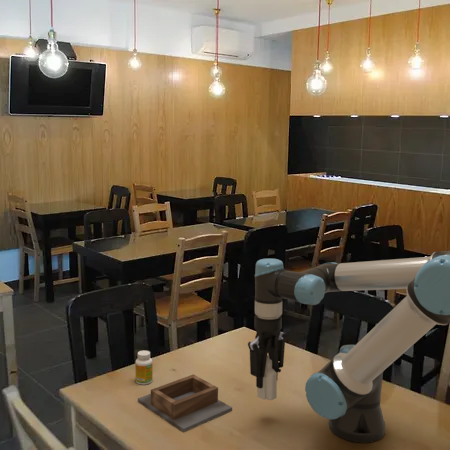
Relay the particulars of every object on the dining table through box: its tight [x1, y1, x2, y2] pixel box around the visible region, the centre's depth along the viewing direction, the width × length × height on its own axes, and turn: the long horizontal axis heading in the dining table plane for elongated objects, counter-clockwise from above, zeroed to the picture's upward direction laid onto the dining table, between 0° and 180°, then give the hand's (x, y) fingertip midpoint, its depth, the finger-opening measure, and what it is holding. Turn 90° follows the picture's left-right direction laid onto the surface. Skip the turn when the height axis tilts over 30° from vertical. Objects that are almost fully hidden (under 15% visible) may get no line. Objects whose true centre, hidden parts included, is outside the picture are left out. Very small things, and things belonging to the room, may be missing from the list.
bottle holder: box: [137, 373, 233, 433], centre depth 163 cm, size 22×18×6 cm
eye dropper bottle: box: [264, 354, 278, 401], centre depth 155 cm, size 4×6×12 cm
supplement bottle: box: [135, 350, 153, 385], centre depth 178 cm, size 5×5×10 cm
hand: (266, 395), depth 156 cm, fingers closed on eye dropper bottle, 3 cm apart
